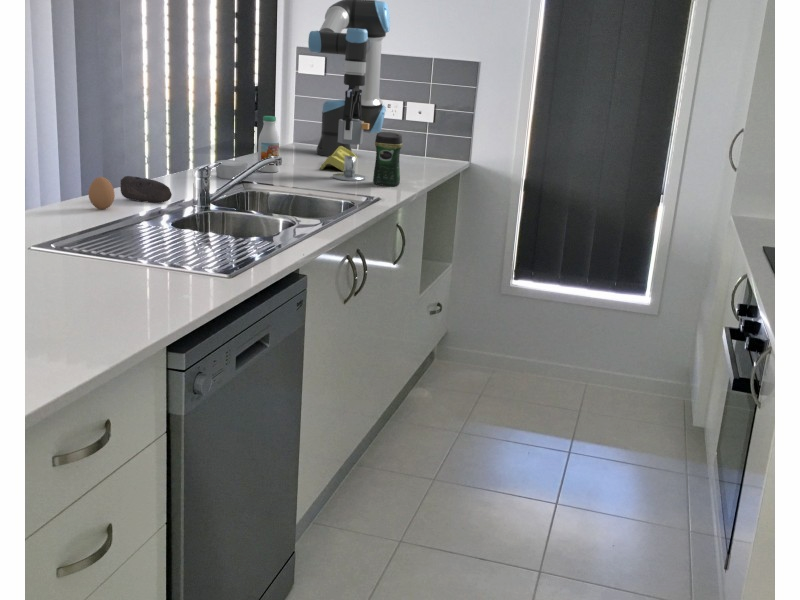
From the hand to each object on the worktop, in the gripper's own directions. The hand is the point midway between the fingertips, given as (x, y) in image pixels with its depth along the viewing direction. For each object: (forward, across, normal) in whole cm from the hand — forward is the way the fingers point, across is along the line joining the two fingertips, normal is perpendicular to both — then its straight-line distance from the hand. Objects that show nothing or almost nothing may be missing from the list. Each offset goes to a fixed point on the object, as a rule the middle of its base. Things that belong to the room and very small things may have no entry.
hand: (351, 138), depth 309 cm
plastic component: (+15, -22, -10) cm, 28 cm away
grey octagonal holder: (+2, 0, +1) cm, 2 cm away
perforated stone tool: (+15, +76, -40) cm, 87 cm away
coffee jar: (+15, +4, +15) cm, 22 cm away
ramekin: (+15, +24, -36) cm, 46 cm away
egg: (+15, +92, -45) cm, 103 cm away
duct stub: (+15, 0, 0) cm, 15 cm away
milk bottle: (+15, +4, -30) cm, 34 cm away
